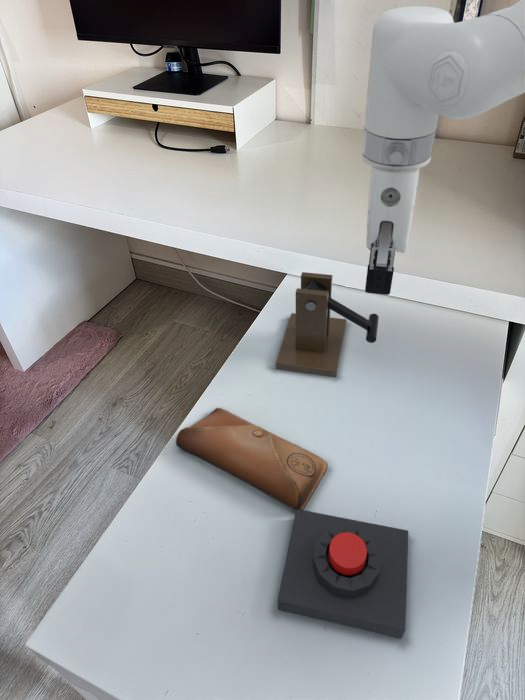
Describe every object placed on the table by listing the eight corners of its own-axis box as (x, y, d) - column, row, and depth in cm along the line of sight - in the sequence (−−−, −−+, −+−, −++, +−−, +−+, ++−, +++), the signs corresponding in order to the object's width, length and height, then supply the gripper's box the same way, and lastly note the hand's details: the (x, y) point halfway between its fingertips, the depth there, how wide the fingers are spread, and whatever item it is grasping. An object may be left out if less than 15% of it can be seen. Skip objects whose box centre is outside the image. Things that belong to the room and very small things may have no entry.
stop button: (366, 544, 51) (368, 536, 50) (363, 579, 48) (365, 571, 47) (331, 537, 52) (332, 528, 50) (326, 571, 49) (326, 563, 48)
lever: (373, 324, 76) (382, 314, 74) (370, 346, 72) (380, 336, 71) (304, 284, 74) (313, 273, 72) (298, 305, 70) (306, 293, 69)
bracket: (346, 324, 82) (351, 262, 74) (336, 377, 73) (341, 313, 65) (291, 318, 83) (291, 257, 75) (275, 368, 75) (273, 305, 67)
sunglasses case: (332, 459, 62) (321, 451, 56) (309, 513, 61) (295, 511, 55) (214, 405, 69) (193, 393, 64) (191, 452, 68) (167, 444, 62)
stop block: (405, 540, 55) (411, 521, 52) (401, 639, 48) (408, 623, 45) (296, 518, 57) (296, 499, 54) (277, 609, 50) (276, 593, 47)
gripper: (433, 179, 48) (405, 324, 61) (432, 118, 60) (409, 251, 73) (354, 174, 50) (343, 317, 62) (369, 116, 62) (356, 246, 74)
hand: (378, 280), depth 67 cm, fingers open, 4 cm apart
